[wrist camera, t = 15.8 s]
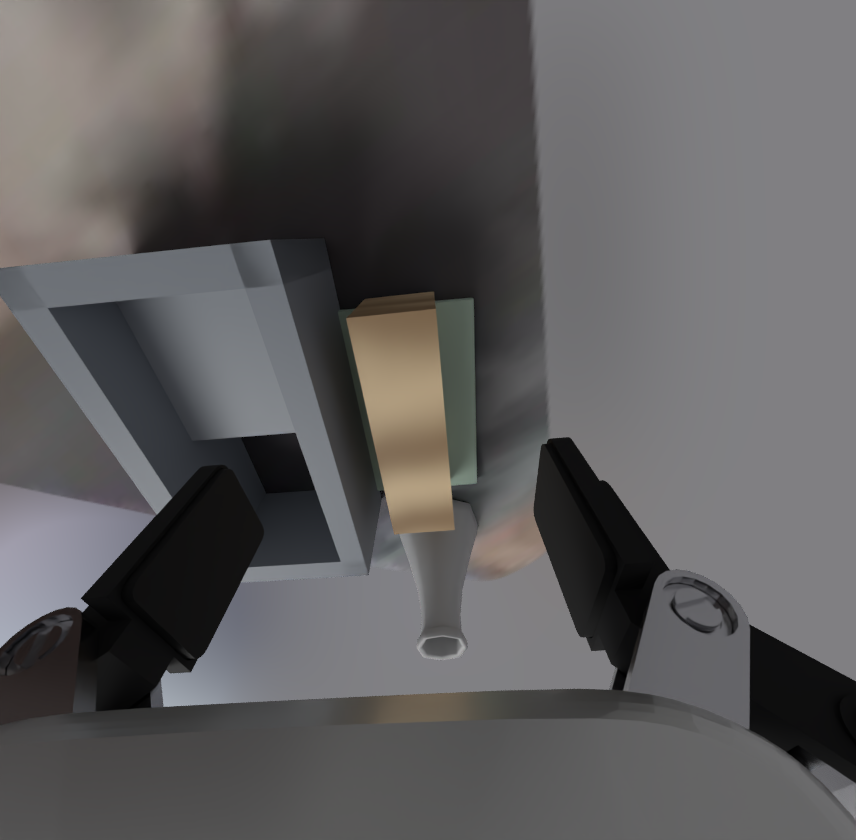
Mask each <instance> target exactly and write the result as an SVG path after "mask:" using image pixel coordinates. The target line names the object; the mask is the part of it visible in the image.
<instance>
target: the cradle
mask: <svg viewBox="0 0 856 840" xmlns="http://www.w3.org/2000/svg"><path fill="white" fill-rule="evenodd" d="M0 296H1V297H2V299H3V300H4V302H5V303H6V304H7V306H8V307H9V309H10V310H11V311H12V313H13V314H14V316H15V317H16V318H17V320H18V321H19V323H20V324H21V325H22V327H23V328H24V330H25V331H26V332H27V334H28V335H29V337H30V338H31V339H32V341H33V342H34V344H35V345H36V346H37V348H38V349H39V351H40V352H41V353H42V355H43V356H44V358H45V359H46V360H47V362H48V363H49V365H50V366H51V367H52V369H53V370H54V372H55V373H56V374H57V376H58V377H59V379H60V380H61V381H62V383H63V384H64V386H65V387H66V388H67V390H68V391H69V393H70V394H71V395H72V397H73V398H74V400H75V401H76V402H77V404H78V405H79V407H80V408H81V409H82V411H83V412H84V414H85V415H86V416H87V418H88V419H89V421H90V422H91V423H92V425H93V426H94V428H95V429H96V430H97V432H98V433H99V435H100V436H101V437H102V439H103V440H104V442H105V443H106V444H107V446H108V447H109V448H110V450H111V451H112V453H113V454H114V455H115V457H116V458H117V460H118V461H119V462H120V464H121V465H122V467H123V468H124V469H125V471H126V472H127V474H128V475H129V476H130V478H131V479H132V481H133V482H134V483H135V485H136V486H137V488H138V489H139V490H140V492H141V493H142V495H143V496H144V497H145V499H146V500H147V502H148V503H149V504H150V506H151V507H152V509H153V510H154V511H155V513H156V514H158V513H159V512H160V511H161V510H162V509H163V508H164V506H165V505H166V504H167V503H168V502H169V501H170V500H171V499H172V498H173V497H174V495H175V494H176V493H177V492H178V491H179V490H180V489H181V488H182V487H183V486H184V484H185V483H186V482H187V481H188V480H189V479H190V478H191V477H192V476H193V475H194V473H195V472H196V471H197V470H198V469H199V468H200V467H202V466H209V465H225V466H227V467H228V469H231V470H233V472H234V473H235V475H236V477H237V479H238V481H239V483H240V485H241V486H242V488H243V490H244V492H245V494H246V496H247V498H248V499H249V501H250V503H251V505H252V507H253V509H254V511H255V512H256V514H257V516H258V518H259V520H260V522H261V524H262V525H263V528H264V536H263V539H262V541H261V543H260V545H259V547H258V549H257V551H256V553H255V555H254V557H253V559H252V561H251V563H250V565H249V567H248V569H247V571H246V573H245V575H244V577H243V579H242V581H241V582H242V583H243V582H259V581H276V580H294V579H310V578H328V577H342V576H343V577H344V576H361V575H369V569H370V563H371V557H372V552H373V546H374V540H375V534H376V528H377V523H378V517H379V511H380V505H381V500H382V499H381V494H380V491H378V490H377V486H376V481H375V477H374V472H373V468H372V463H371V459H370V454H369V450H368V445H367V441H366V436H365V432H364V427H363V423H362V418H361V414H360V409H359V405H358V400H357V396H356V392H355V387H354V383H353V378H352V374H351V369H350V365H349V360H348V356H347V351H346V347H345V342H344V338H343V333H342V329H341V324H340V320H339V315H338V311H340V307H339V302H338V298H337V293H336V289H335V284H334V280H333V275H332V270H331V266H330V261H329V257H328V252H327V248H326V243H325V239H324V238H315V239H278V240H263V241H253V242H244V243H234V244H225V245H215V246H206V247H196V248H187V249H177V250H168V251H158V252H149V253H140V254H130V255H121V256H111V257H102V258H92V259H83V260H73V261H64V262H54V263H45V264H35V265H26V266H16V267H7V268H0ZM285 433H296V435H297V438H298V441H299V444H300V447H301V450H302V452H303V455H304V458H305V461H306V464H307V467H308V470H309V472H310V475H311V478H312V481H313V484H314V487H315V490H311V491H296V492H282V493H268V494H266V492H265V490H264V488H263V485H262V483H261V481H260V479H259V477H258V474H257V472H256V470H255V468H254V466H253V463H252V461H251V459H250V457H249V455H248V452H247V450H246V448H245V446H244V444H243V442H242V439H241V437H247V436H260V435H272V434H285Z"/></svg>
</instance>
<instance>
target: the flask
mask: <svg viewBox="0 0 856 840" xmlns="http://www.w3.org/2000/svg"><path fill="white" fill-rule="evenodd" d="M452 504H453V515H454V527H455V530H448V531H434V532H420V533H406V534H399V535H400V537H401V540H402V543H403V546H404V549H405V551H406V554H407V557H408V560H409V563H410V566H411V570H412V573H413V576H414V579H415V583H416V586H417V589H418V595H419V601H420V608H421V614H422V632H421V635H420V637H419V639H418V641H417V649H418V650H419V652H420V653H421V655H422V656H423V657H424V658H430V659H437V660H447V659H452V658H458V657H461V656H462V654H463V653H464V652H465V650H466V649H467V647H468V646H467V641H466V638H465V637H464V635H463V633H462V631H461V617H460V612H461V599H462V588H463V584H464V580H465V576H466V572H467V567H468V563H469V559H470V555H471V552H472V548H473V545H474V541H475V537H476V534H477V530H478V524H477V521H476V518H475V516H474V513H473V511H472V508H471V505H470V504H469V503H465V502H461V501H457V500H452Z"/></svg>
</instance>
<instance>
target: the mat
mask: <svg viewBox="0 0 856 840" xmlns="http://www.w3.org/2000/svg"><path fill="white" fill-rule="evenodd" d="M435 305H436V316H437V328H438V339H439V351H440V363H441V375H442V386H443V398H444V410H445V421H446V433H447V445H448V457H449V468H450V480H451V486H452V485H466V484H477V459H476V403H475V347H474V299H473V298H461V299H451V300H440V301H435ZM354 310H355V309H346V310H340V311H338V315H339V320H340V324H341V329H342V333H343V338H344V342H345V347H346V351H347V356H348V360H349V365H350V369H351V374H352V378H353V383H354V387H355V392H356V396H357V400H358V405H359V409H360V414H361V418H362V423H363V427H364V432H365V436H366V441H367V445H368V450H369V454H370V459H371V463H372V468H373V472H374V477H375V481H376V486H377V490H378V491H381V490H384V486H383V482H382V477H381V473H380V468H379V464H378V459H377V455H376V450H375V446H374V441H373V437H372V432H371V428H370V423H369V419H368V415H367V410H366V406H365V401H364V397H363V392H362V388H361V383H360V379H359V374H358V370H357V365H356V361H355V356H354V352H353V347H352V343H351V338H350V334H349V329H348V325H347V321H346V318H347V317H348V316H349V315H350V314H351V313H352V312H353V311H354Z"/></svg>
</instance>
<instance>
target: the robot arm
mask: <svg viewBox="0 0 856 840" xmlns="http://www.w3.org/2000/svg"><path fill="white" fill-rule="evenodd" d="M534 517H535V520H536V523H537V526H538V528H539V531H540V534H541V536H542V539H543V542H544V545H545V547H546V550H547V553H548V555H549V558H550V561H551V563H552V566H553V569H554V571H555V574H556V577H557V579H558V582H559V585H560V587H561V590H562V593H563V596H564V598H565V601H566V603H567V606H568V609H569V612H570V614H571V617H572V620H573V622H574V625H575V628H576V630H577V632H578V634H579V636H580V637H586V638H587V641H588V643H589V646H590V648H591V651H598V650H606V653H607V655H608V658H609V660H610V662H611V664H612V665H614V666H615V667H616V668H615V671H614V675H613V678H612V682H611V685H610V689H609V690H595V689H554V690H553V689H552V690H514V691H513V690H511V691H483V692H463V693H462V692H460V693H438V694H416V695H415V694H414V695H394V696H372V697H371V696H370V697H351V698H350V697H349V698H330V699H309V700H288V701H268V702H248V703H229V704H211V705H193V706H174V707H163V697H162V687H161V678H162V676H163V674H164V672H165V671H166V670H167V671H168V672H169V673H184V672H191V671H192V669H193V667H194V665H195V663H196V661H197V659H198V658H199V657H201V656H202V655H203V654H204V653H205V651H206V650H207V648H208V646H209V644H210V642H211V640H212V638H213V636H214V634H215V632H216V630H217V628H218V626H219V624H220V622H221V620H222V618H223V616H224V614H225V612H226V610H227V608H228V606H229V604H230V602H231V600H232V598H233V597H234V595H235V593H236V591H237V588H238V587H239V585H240V583H241V581H242V579H243V577H244V575H245V573H246V571H247V569H248V567H249V565H250V563H251V561H252V559H253V557H254V555H255V553H256V551H257V549H258V547H259V545H260V543H261V541H262V539H263V536H264V528H263V525H262V524H261V522H260V520H259V518H258V516H257V514H256V512H255V511H254V509H253V507H252V505H251V503H250V501H249V499H248V498H247V496H246V494H245V492H244V490H243V488H242V486H241V485H240V483H239V481H238V479H237V477H236V475H235V473H234V472H233V470H231V469H228V467H227V466H225V465H209V466H202V467H200V468H199V469H198V470H197V471H196V472H195V473H194V475H193V476H192V477H191V478H190V479H189V480H188V481H187V482H186V483H185V484H184V486H183V487H182V488H181V489H180V490H179V491H178V492H177V493H176V494H175V495H174V497H173V498H172V499H171V500H170V501H169V502H168V503H167V504H166V505H165V506H164V508H163V509H162V510H161V511H160V512H159V513H158V514H157V515H156V516H155V517H154V519H153V520H152V521H151V522H150V523H149V524H148V525H147V526H146V527H145V528H144V530H143V531H142V532H141V533H140V534H139V535H138V536H137V537H136V538H135V539H134V540H133V542H132V543H131V544H130V545H129V546H128V547H127V548H126V549H125V551H123V553H122V554H121V555H120V556H119V557H118V558H117V559H116V560H115V561H114V562H113V564H112V565H111V566H110V567H109V568H108V569H107V570H106V571H105V573H103V575H102V576H101V577H100V578H99V579H98V580H97V581H96V582H95V584H93V586H92V587H91V588H90V589H89V590H88V591H87V592H86V593H85V594H84V596H83V597H82V598H81V599H82V600H84V602H86V603H87V604H88V605H89V606H88V607H87V608H86V609H85V611H84V612H81V611H80V610H78V609H77V608H70V607H66V608H63V609H58V610H55V611H53V612H50V613H48V614H46V615H44V616H42V617H40V618H39V619H37V620H35V621H33V622H32V623H30V624H28V625H27V626H25V627H24V628H23V629H22V630H20V631H19V632H17V633H16V634H15V635H14V636H12V637H11V638H10V639H9V640H8V641H7V642H6V643H5V644H4V645H3V646H2V647H1V648H0V840H856V681H854V680H852V679H850V678H849V677H846V676H845V675H843V674H841V673H839V672H837V671H835V670H833V669H832V668H830V667H828V666H826V665H824V664H822V663H820V662H819V661H817V660H815V659H813V658H811V657H809V656H807V655H806V654H804V653H802V652H800V651H798V650H796V649H794V648H792V647H790V646H789V645H787V644H785V643H783V642H781V641H779V640H777V639H776V638H774V637H772V636H770V635H768V634H766V633H764V632H762V631H761V630H759V629H757V628H755V627H753V626H751V625H749V622H748V617H747V616H746V614H745V612H744V611H743V609H742V607H741V606H740V604H739V603H738V602H737V601H736V600H735V599H734V598H733V596H732V595H731V594H730V593H728V592H727V591H726V590H725V589H723V588H722V587H721V586H719V585H718V584H717V583H715V582H713V581H711V580H710V579H708V578H706V577H704V576H702V575H699V574H696V573H693V572H690V571H685V570H677V569H676V570H669V568H668V567H667V565H666V564H665V563H664V561H663V560H662V558H661V557H660V556H659V554H658V553H657V551H656V550H655V548H654V547H653V546H652V544H651V543H650V541H649V540H648V538H647V537H646V536H645V534H644V533H643V531H642V530H641V528H639V526H638V524H637V523H636V521H635V520H634V519H633V517H632V516H631V515H630V513H629V511H628V510H627V509H626V507H625V506H624V504H623V503H622V502H621V500H620V499H619V497H618V496H617V494H616V493H615V492H614V490H613V489H612V487H611V486H610V485H609V484H608V483H607V482H606V481H603V480H602V481H599V479H598V478H597V476H596V475H595V473H594V472H593V470H592V469H591V467H590V466H589V465H588V463H587V461H586V460H585V458H584V457H583V456H582V454H581V453H580V451H579V450H578V448H577V447H576V445H575V444H574V442H573V441H572V439H571V438H569V437H566V438H553V439H548V441H547V444H543V445H542V446H541V451H540V459H539V468H538V476H537V484H536V493H535V501H534Z"/></svg>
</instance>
